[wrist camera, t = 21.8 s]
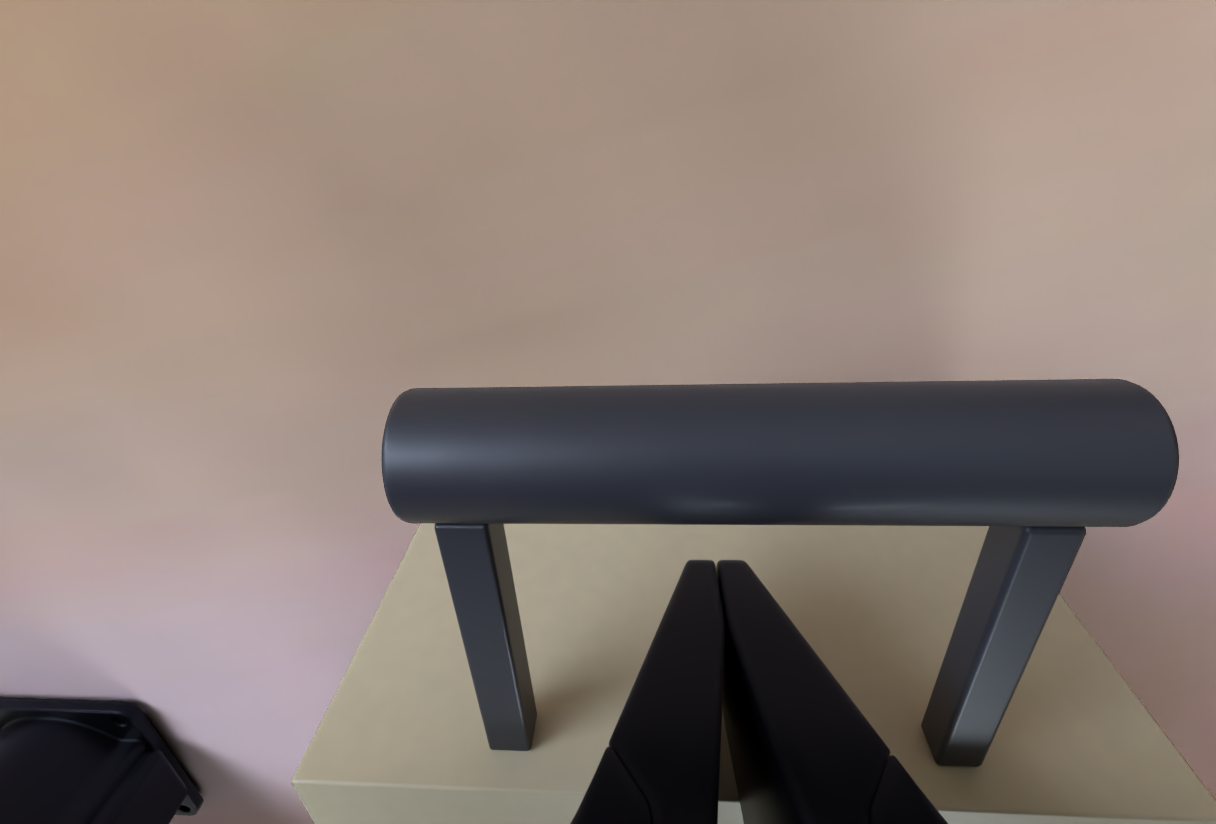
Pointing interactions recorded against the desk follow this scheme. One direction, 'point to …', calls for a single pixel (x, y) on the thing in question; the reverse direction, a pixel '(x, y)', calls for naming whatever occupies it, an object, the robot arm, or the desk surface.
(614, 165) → the desk surface
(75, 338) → the desk surface
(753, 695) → the robot arm
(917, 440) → the drawer
